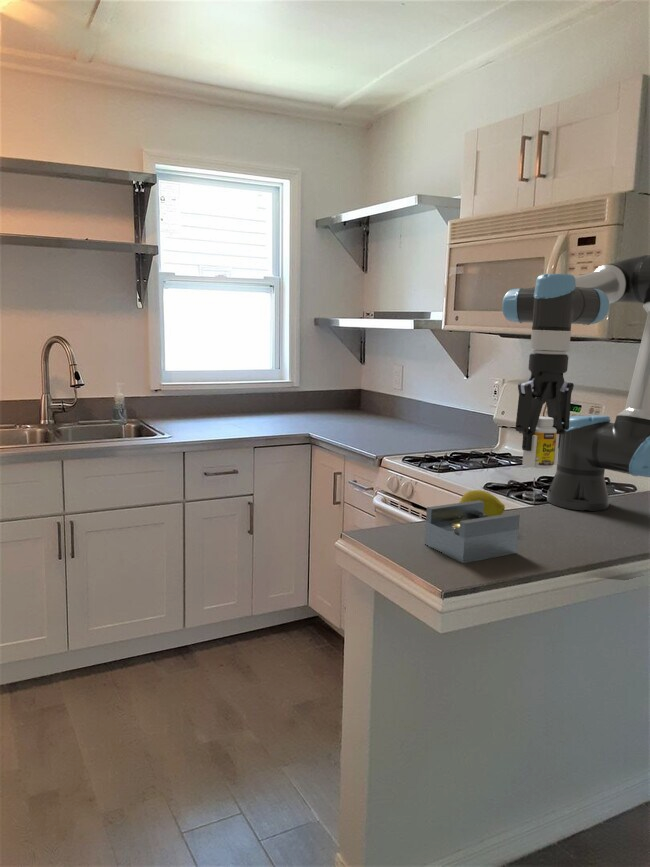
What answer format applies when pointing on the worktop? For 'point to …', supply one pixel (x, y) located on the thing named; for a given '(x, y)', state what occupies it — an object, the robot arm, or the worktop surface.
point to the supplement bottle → (545, 443)
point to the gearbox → (470, 531)
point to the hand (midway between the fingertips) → (539, 464)
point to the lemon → (485, 502)
